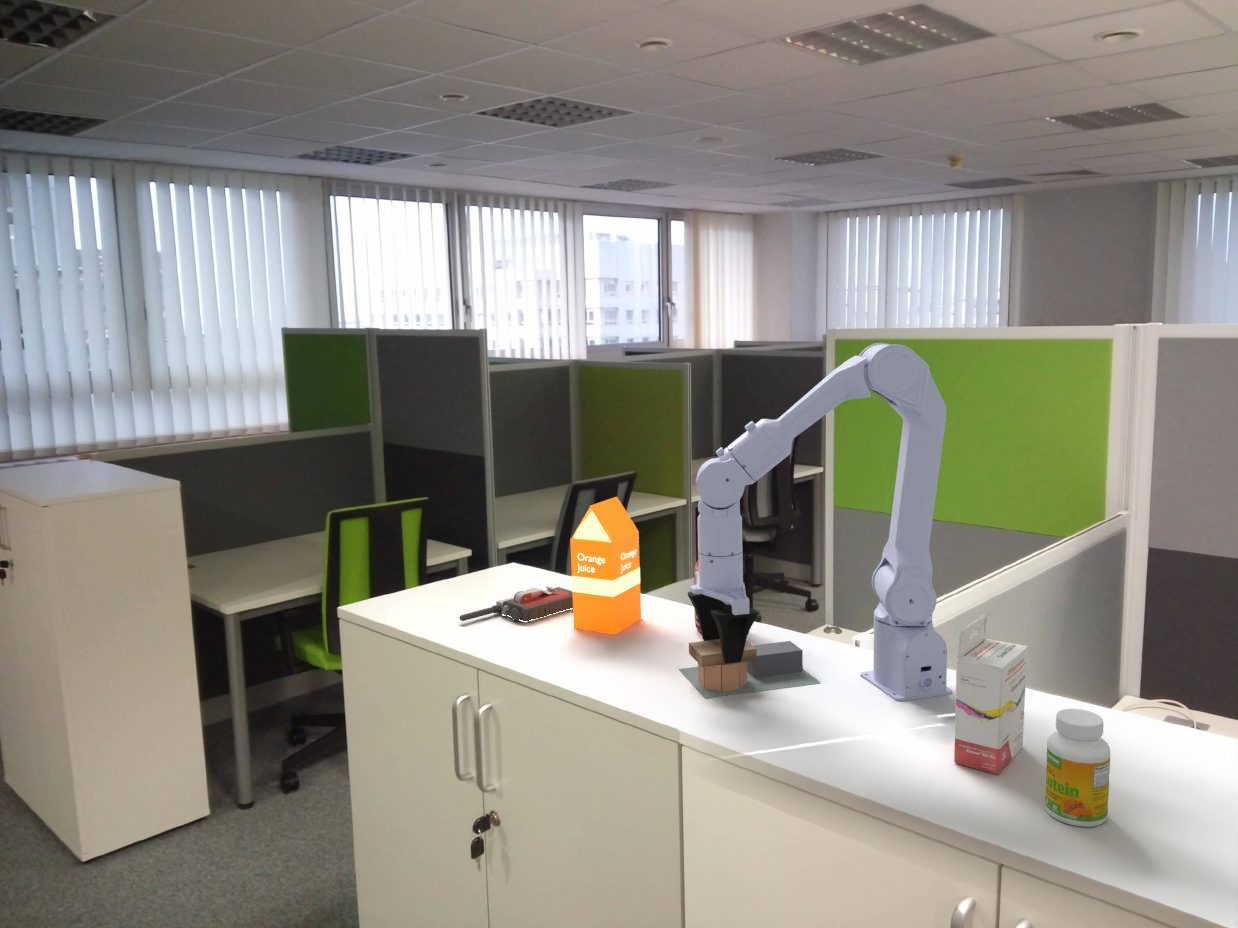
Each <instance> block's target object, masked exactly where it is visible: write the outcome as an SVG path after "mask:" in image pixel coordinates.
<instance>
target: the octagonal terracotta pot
mask: <svg viewBox="0 0 1238 928" xmlns="http://www.w3.org/2000/svg"><path fill="white" fill-rule="evenodd" d="M697 667H698V682H699V683H700V684H701V685H702V686H703V688H705V689H710V690H716V691H730V690H737V689H741V688H742V687H743V686H744V685H745V684H746V683H747V661H744V662H737V663H729V664H721V665H713V666H705V667H702V666H701V665H700V664H699V663H698V662H697Z"/></svg>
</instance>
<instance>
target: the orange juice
mask: <svg viewBox="0 0 1238 928" xmlns="http://www.w3.org/2000/svg"><path fill="white" fill-rule="evenodd" d="M579 523H580V524H578V527H576V530H575V532H574V533H573V535H572V537H571V538H570V559H571V560H570V563H571V591H572V592H573V609H572V612H573V628H574V629H577V628H579V629H578V630H583V631H592V632H598V633H605V634H611V635H616V634H618V633H619V632H621V631H623V630H624V629H626V628H627V627H630V626H631V625H633V624H634V623H636V622H637V621H639V620H641V619H642V604H641V601H642V599H641V566H640V544H639V543H640V540H639V539H640V535H639V534H640V532H639V530H638V528H637V527H636V525H635V523H634V522H633V520H632V519H631V517H630V515H629V514H628V512H627V510H626V509H625V507H624V506H623V504H622V502H621V501H620V500H619V498H618V496H615V497H612V498H611V497H610V498H609V499H608V498H607V499H605V500H603V501H600V502H597V503H593V504H592V505H589V508H588V510H587V512H586V513H585V515H584V517H583V518H582V519H581V522H579Z"/></svg>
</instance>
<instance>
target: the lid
mask: <svg viewBox="0 0 1238 928" xmlns="http://www.w3.org/2000/svg"><path fill="white" fill-rule="evenodd" d="M688 655H690V657H692V658H693V660H695V662H697V664H698V663H699V664H700V665H701V666H702V667H705V666H713V665H721V664H726V663H725V662H724V659H723V655H722V649H721V642H720V639H716V640H708V641H703V640H701V641H694V642H693V641H692V642H691V641H690V642H688ZM752 660H757V650H756V648H755V647H754V646H753V644H751V643H750V642H749V641H748V640H746V643H745V647H744V652H743V656H742V660H741V662H744V661H752Z"/></svg>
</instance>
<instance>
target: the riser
mask: <svg viewBox="0 0 1238 928" xmlns="http://www.w3.org/2000/svg"><path fill="white" fill-rule="evenodd" d="M752 646H754V647H755V648H756V650H757V660H752V661H747V672H748V673H749V674H751V675H752V676H753V677H754V678H757V677H765V676H773V675H780V674H788V673H795V672H803V669H804V668H803V667H804V666H803V665H804V663H803V650H804V649H801V648H800V647H799V646H797V645H796V644H794V642H792V641H791V640H788V641H779V642H771V643H769V642H768V643H762V644H755V645H753V644H752Z"/></svg>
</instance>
